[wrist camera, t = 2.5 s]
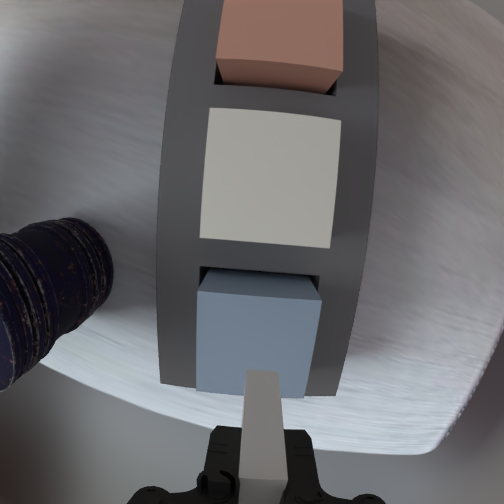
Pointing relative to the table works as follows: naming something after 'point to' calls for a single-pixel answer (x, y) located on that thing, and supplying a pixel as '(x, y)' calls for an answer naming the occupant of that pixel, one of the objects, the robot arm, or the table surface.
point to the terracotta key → (281, 44)
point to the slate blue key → (255, 330)
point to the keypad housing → (254, 253)
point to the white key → (270, 177)
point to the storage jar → (47, 289)
